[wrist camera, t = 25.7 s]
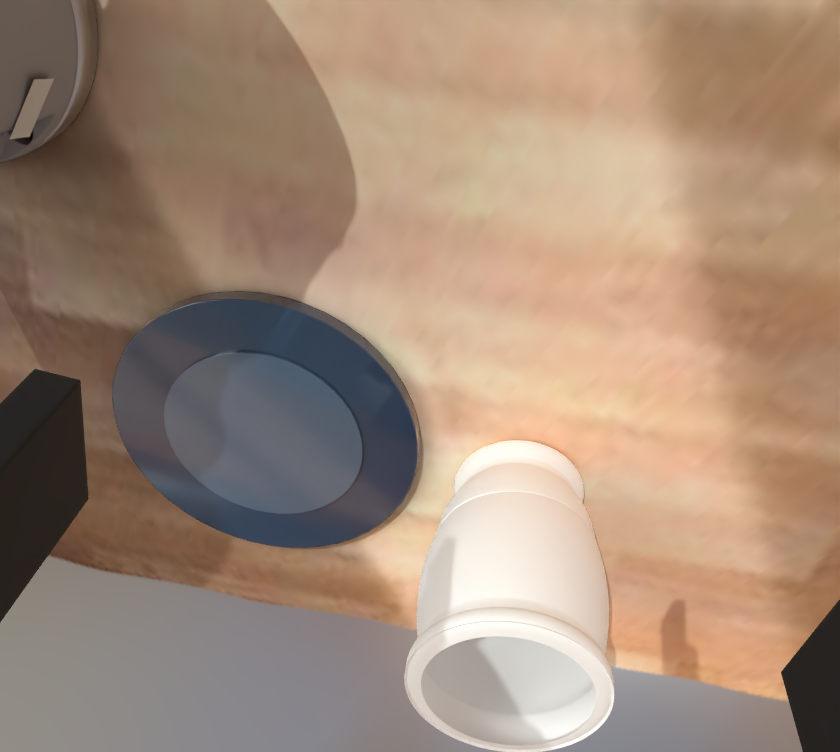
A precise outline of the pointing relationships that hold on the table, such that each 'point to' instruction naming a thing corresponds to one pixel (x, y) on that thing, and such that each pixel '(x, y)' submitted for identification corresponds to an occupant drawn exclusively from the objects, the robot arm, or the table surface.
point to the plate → (266, 419)
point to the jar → (513, 607)
